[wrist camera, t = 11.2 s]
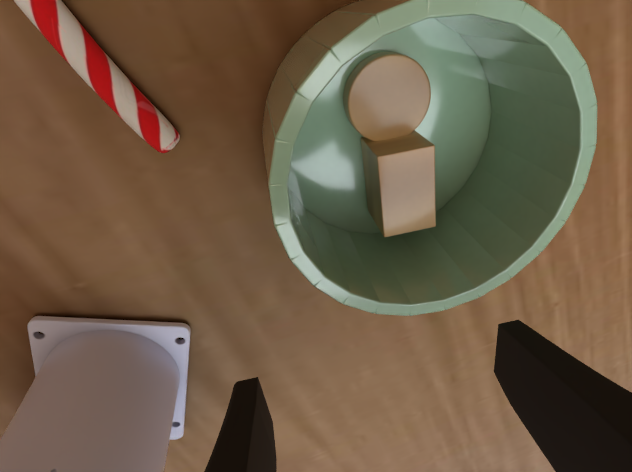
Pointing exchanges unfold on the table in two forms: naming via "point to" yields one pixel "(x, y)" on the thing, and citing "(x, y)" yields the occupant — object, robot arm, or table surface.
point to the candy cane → (100, 71)
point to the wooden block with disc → (393, 140)
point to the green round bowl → (450, 150)
